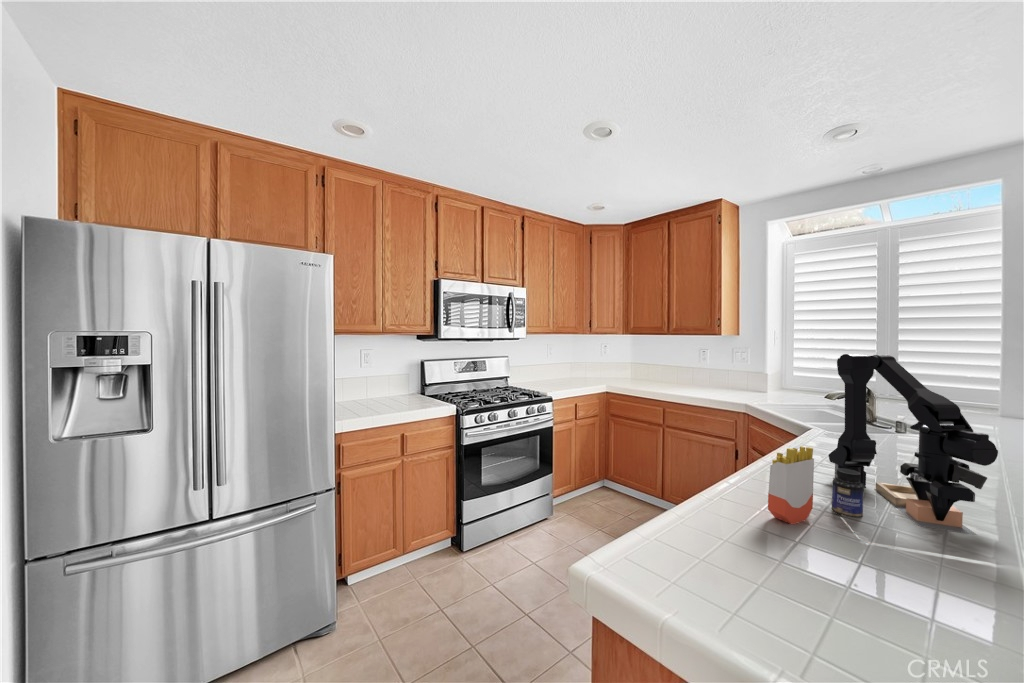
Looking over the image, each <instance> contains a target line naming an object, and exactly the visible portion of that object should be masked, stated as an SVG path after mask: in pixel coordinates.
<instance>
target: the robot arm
mask: <svg viewBox="0 0 1024 683" xmlns="http://www.w3.org/2000/svg"><path fill="white" fill-rule="evenodd" d="M836 367H837V368H836V369H837V374H838V376H839V377H840V379H841V381H842V382H843V383H844V431H843V432H842V433H841V435H839V437H838V440H837V446H836V448H834V450H833V451H831V452H830V453H829V454H828V459H829V462H830V463H831V464H834V477H832V480H833V479H834V478H837V474H836V473H837V469H839V468H844V469H850V470H854V471H857V472H859V473H860V474H861V479H859V482H861V483H862V484H863V486H864V489H866V488H867V487H866V485H867V471H866V470H865V467H868V468H869V467H870V466H871V464H872V462H873V460H874V459H875V455H878V453H877V449H876V448H877V441H876V440H875V439H871V438H870V436H869V434H868V432H867V385H868V383H869V382H870V380H871V379H872V377H873V376H874V371H876V373H878V374H879V375H880V376H881V377H882V378H883V379H884V380H885V381H887V383H889V385H890V386H891V387H893V388H894V389H895V390H896V391H897V392H898V394H900V395H901V396H902V397H903V398H904V399H905V400H906V402H907V409H908V410H909V411H910V413H911V414H912V416H913V417H914V418H915V420H916V421H917V422H915V423H914V424H912V425H910V427H909V428H910V430H915V431H918V451H917V452H916V451H914V457H915V458H917V459H918V460H917V461H918V462H917V463H909V462H904V463H903V464H901V465H899V466H900V469H899V471H900V473H901V474H902V475H904V477H905V479H906V481H907V482H908V483H909V485H910V487H912V489H913V491H914V493H915V495H916V496H917V498H918V500H925V501H929V502H930V504H931V507H932V510H933V512H934V515H935V517H936V519H937V520H938V521H944V519H945V517H946V515H947V513H948V512H949V510H950V508H951V506H953V505H954V504H955V503H957V502H960V501H963V502H969V503H975V502H976V493H975V492H974V490H972V489H971V488H969V487H967V486H966V485H964V484H962V483H966V484H967V485H970V486H973V487H974V488H976V489H978V490H982V489H983V487H984V485H985V483H986V482H987V480H988V477H987V476H985V475H983V474H980V473H979V472H976V471H974V470H972V469H970V465H969V464H968V463H964V462H962V461H966V462H969V463H972V464H976V465H980V466H983V467H984V466H990V465H992V464H993V463H994V462H995V461H997V458H998V455H999V450H998V449H997V446H996V445H995V443H994V442H993V441H992V440H989V439H990V436H989V434H987V433H979V432H978V433H977V432H974V429H973V428H972V427H971V425H970V424H969V422H968V421H967V420H966V418H965V416H964V415H963V414H962V413H961V410H962V409H961V408H960V407H959V405H957V404H956V403H955V402H953V401H951V400H950V399H948V398H947V397H946V396H944V395H941V394H939V393H937V392H934V391H932V390H931V389H928V388H927V387H926V386H925V385H923V384H922V382H920V381H919V380H918V379H917V378H916V377H914V376H913V375H912V374H911V373H910V372H909V371H908V370H907V369H905V368H904V367H903V365H901V364H900V363H899V362H898V361H897V359H896V358H895V357H894V356H892V355H889V354H873V355H869V354H865V353H864V354H863V353H844V354H841V355H840V356H839V357H838V358H837V359H836ZM954 458H955V459H954ZM956 459H957V460H956ZM958 459H959V460H958ZM961 460H962V461H961ZM909 475H910V476H909ZM906 476H907V477H906ZM960 482H962V483H960Z"/></svg>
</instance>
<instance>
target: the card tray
mask: <svg viewBox="0 0 1024 683" xmlns="http://www.w3.org/2000/svg"><path fill="white" fill-rule="evenodd" d="M875 489H876V490H877V491H878V492H880V493H881V494H882V495H883V496H884V497H886V498H887V499H888V500H889V501H890V502H892V503H893V504H894V505H896V506H903V507H906V498H910V499H918V498H917V496H916V495H915V493H914V491H913V489H912V487H911V485H910V486H909V485H901V484H892V483H885V482H877V481H876V482H875ZM876 490H875V491H876ZM877 491H876V492H877ZM878 492H877V493H878ZM880 493H879V494H880ZM881 494H880V495H881ZM882 495H881V496H882ZM883 496H882V497H883ZM884 497H883V498H884ZM886 498H885V499H886ZM887 499H886V500H887ZM888 500H887V501H888ZM889 501H888V502H889ZM890 502H889V503H890ZM892 503H891V504H892ZM893 504H892V505H893ZM894 505H893V506H894Z"/></svg>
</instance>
